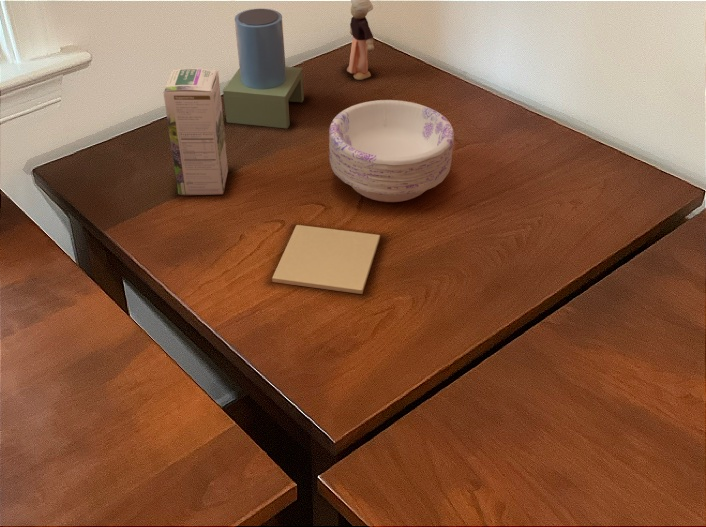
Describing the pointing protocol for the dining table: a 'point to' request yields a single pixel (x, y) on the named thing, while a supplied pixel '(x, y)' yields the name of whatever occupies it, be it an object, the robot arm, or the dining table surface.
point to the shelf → (263, 101)
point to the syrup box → (196, 131)
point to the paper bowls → (390, 149)
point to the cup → (260, 48)
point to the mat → (327, 259)
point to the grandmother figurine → (360, 39)
